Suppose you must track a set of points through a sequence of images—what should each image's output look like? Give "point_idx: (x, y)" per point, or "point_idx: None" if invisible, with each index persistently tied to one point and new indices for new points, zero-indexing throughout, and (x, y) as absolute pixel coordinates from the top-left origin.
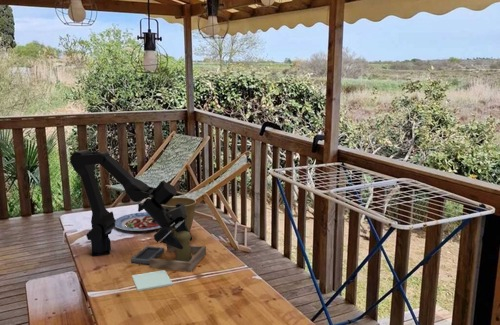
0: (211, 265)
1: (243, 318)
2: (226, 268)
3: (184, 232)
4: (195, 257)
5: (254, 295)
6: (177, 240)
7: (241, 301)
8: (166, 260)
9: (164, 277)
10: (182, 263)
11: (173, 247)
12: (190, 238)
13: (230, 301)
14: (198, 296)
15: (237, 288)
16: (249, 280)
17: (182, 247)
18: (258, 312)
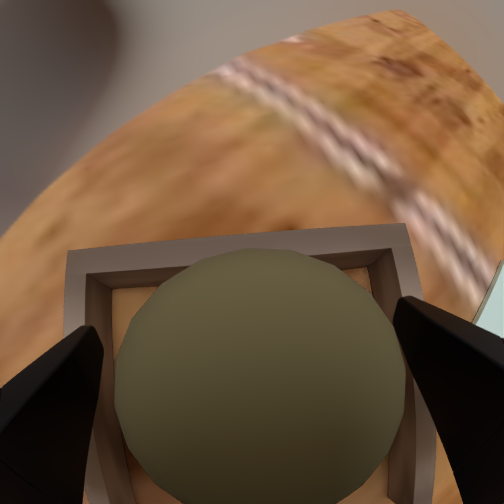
0: (254, 172)
1: (468, 67)
2: (262, 106)
3: (300, 358)
4: (303, 234)
5: (391, 42)
6: (492, 340)
7: (432, 63)
8: None
9: (492, 325)
10: (416, 283)
11: (120, 500)
12: (92, 348)
13: (449, 81)
14: (489, 151)
15: (389, 66)
16: (323, 45)
17: (413, 300)
18: (437, 46)
